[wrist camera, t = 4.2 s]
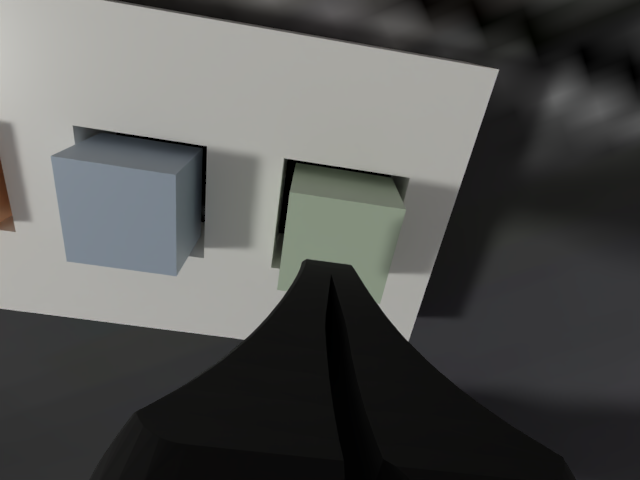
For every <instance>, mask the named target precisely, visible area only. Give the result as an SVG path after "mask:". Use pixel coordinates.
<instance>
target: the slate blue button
mask: <svg viewBox="0 0 640 480" xmlns="http://www.w3.org/2000/svg"><path fill="white" fill-rule="evenodd" d="M202 157H203V148H198V147H191V146H185V145H179V144H172V143H166V142H159V141H153V140H146V139H140V138H133V137H127V136H121V135H114V134H108V133H99V134H97V135H94V136H92V137H90V138H88V139H86V140H84V141H82V142H80V143H77V144H75V145H73V146H71V147H69V148H67V149H65V150H62V151H60V152H58V153H56V154H54V155H52V156H51V162H52V168H53V175H54V181H55V188H56V194H57V201H58V207H59V214H60V221H61V227H62V234H63V240H64V247H65V253H66V260H67V262H74V263H82V264H89V265H97V266H104V267H111V268H119V269H126V270H133V271H141V272H148V273H156V274H163V275H170V276H177V275H178V273H179V271H180V270H181V268H182V266H183V265H184V263H185V261H186V260H187V258H188V256H189V255H190V253H191V251H192V250H193V248H194V246H195V245H196V243H197V241H198V240H199V238H200V236H201V200H202Z"/></svg>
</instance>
